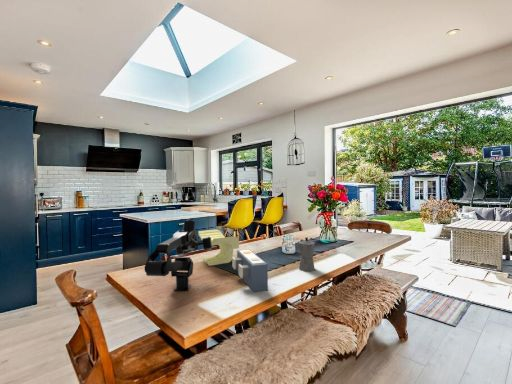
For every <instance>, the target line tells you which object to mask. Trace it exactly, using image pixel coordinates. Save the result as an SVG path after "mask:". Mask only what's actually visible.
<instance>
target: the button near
mask: <svg viewBox="0 0 512 384" xmlns="http://www.w3.org/2000/svg"><path fill="white" fill-rule="evenodd" d="M238 276H239V277H240V279H243V276H250V274H249V266H248V265H242V266H241V265H240V264H239V273H238Z"/></svg>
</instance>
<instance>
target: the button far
mask: <svg viewBox="0 0 512 384" xmlns="http://www.w3.org/2000/svg"><path fill="white" fill-rule="evenodd" d="M231 263H232V265H231V267H232V268H233V269H234V270H237V268H239V264H240V265H241V266H242V259H241V258H237V257H234V256H233V257H232V260H231Z"/></svg>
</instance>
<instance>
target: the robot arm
mask: <svg viewBox="0 0 512 384" xmlns="http://www.w3.org/2000/svg"><path fill="white" fill-rule="evenodd" d="M196 223H197V222H196V220H195V221H194V220H190V219H185V220H184V221H183V226H182V227H183V228H182V230H177V231H175V233H173V234H172V237H170V238H169V239H167V240H165V241H162V242H161V243H158V244H156V246H155V249H154V251H153V252H151V253H150V255H149V256H148V257H147V259H146V262H145V265H144V273H146V276H147V277H166V276H167V275H170V274H171V277H175V287H174V289H173V291H174V292H179V291H180V292H182V291H184V292H185V291H189V289H190V288H191V286H192V284H189V278H190V277H191V276H192V275H193V272H194V261H193V260H192V258H191V257H187V256H183V255H187V254H188V253H191V252H193V251H198V250H199V247H200V246H203V247H202V248H203V250H205V251H206V250H211V249H212V248H213V245H212V243H211V238H210V237H209V236H208V237H204V238H203V240H199V238H198V235H197V234H198V232H197V230H196ZM174 250H175V254H176V255H178V257H176V256H175V257H174V261H173V260H172V258H171V252H172V251H174ZM160 254H161V255H162V254H163V255H164V254H165V255H166V258H167V259H166V260H156V259H157V258H158V257H159V256H160ZM182 256H183V257H182ZM170 272H171V273H170Z"/></svg>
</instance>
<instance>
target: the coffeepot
mask: <svg viewBox="0 0 512 384" xmlns="http://www.w3.org/2000/svg"><path fill="white" fill-rule="evenodd" d="M315 244H316V242H314V241H310V240H309V237H308V236H307V237H305V238H304V239H302V238H301V239H300V241H298V247H299V254H300V260H299V268H298V269H299V270H300V271H302V272H313V271H315V263H314V257H313V256H314V250H315Z"/></svg>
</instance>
